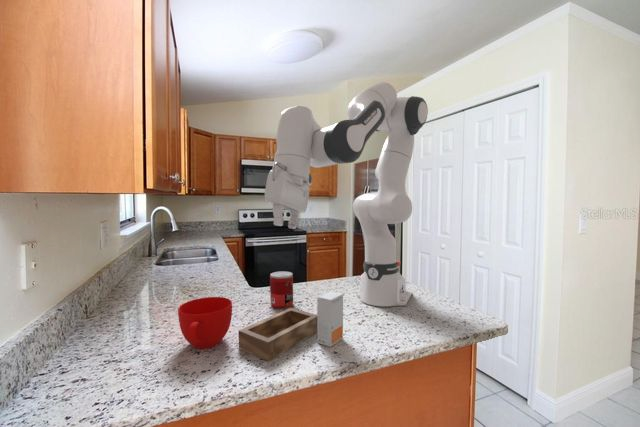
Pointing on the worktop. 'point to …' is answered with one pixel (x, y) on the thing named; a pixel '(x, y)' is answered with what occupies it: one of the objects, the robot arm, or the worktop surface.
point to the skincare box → (329, 318)
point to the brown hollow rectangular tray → (277, 333)
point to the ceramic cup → (205, 321)
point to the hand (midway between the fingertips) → (285, 227)
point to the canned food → (281, 289)
